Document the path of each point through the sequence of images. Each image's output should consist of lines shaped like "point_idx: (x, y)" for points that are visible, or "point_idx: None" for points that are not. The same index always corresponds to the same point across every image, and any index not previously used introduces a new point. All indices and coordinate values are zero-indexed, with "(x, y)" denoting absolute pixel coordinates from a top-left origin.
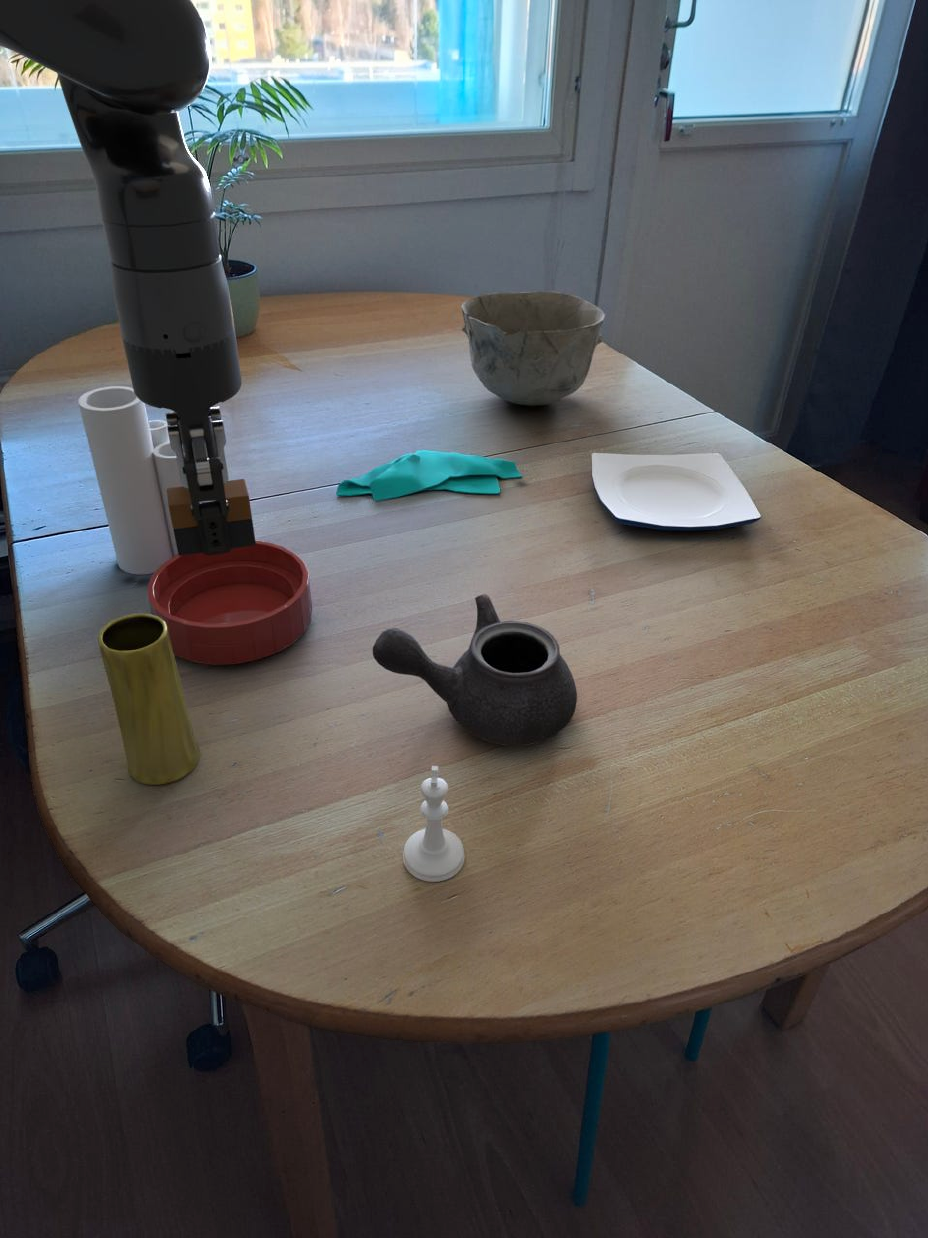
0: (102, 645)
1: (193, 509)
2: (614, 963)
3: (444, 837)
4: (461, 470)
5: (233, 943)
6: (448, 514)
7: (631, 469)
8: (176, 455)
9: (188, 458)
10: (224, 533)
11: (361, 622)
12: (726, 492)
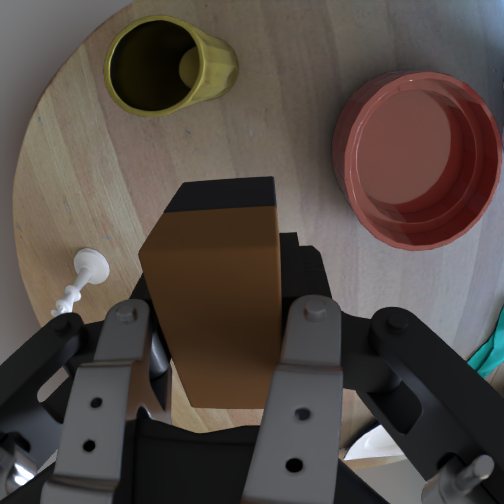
0: (126, 28)
1: (25, 344)
2: (49, 319)
3: (90, 279)
4: (494, 355)
5: (35, 144)
6: (463, 339)
7: None
8: (56, 462)
9: (43, 470)
10: None
11: (365, 263)
12: (378, 451)
